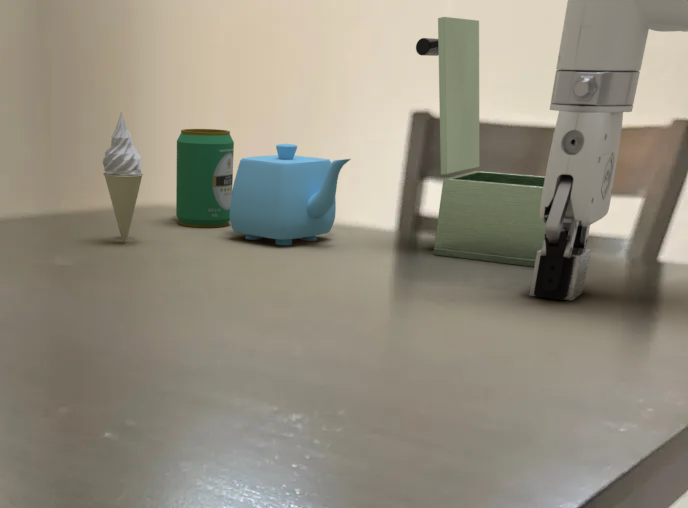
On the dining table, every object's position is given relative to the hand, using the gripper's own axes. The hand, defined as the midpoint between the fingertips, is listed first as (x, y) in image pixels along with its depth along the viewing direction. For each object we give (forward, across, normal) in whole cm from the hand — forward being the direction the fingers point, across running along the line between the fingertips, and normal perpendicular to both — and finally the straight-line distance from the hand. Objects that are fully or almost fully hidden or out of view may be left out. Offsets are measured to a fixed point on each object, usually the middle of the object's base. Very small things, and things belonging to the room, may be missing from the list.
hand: (556, 290), depth 102 cm
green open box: (+1, +24, +12) cm, 27 cm away
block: (0, 0, 0) cm, 0 cm away
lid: (-17, +24, +21) cm, 36 cm away
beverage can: (+1, +20, +56) cm, 59 cm away
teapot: (+1, +15, +40) cm, 42 cm away
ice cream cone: (0, 0, +56) cm, 56 cm away
